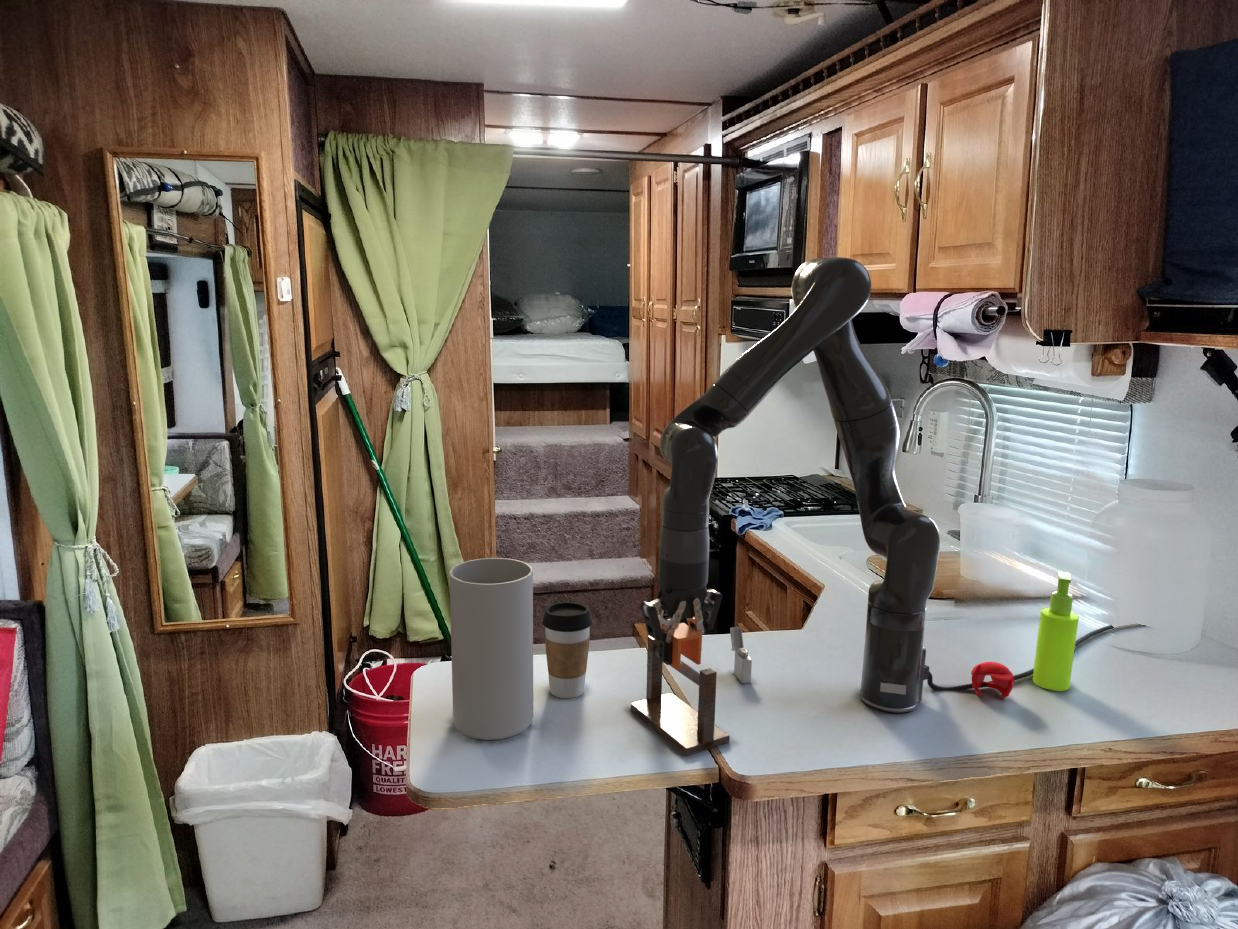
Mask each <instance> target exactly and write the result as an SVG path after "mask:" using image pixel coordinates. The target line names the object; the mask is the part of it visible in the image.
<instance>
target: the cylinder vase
mask: <svg viewBox="0 0 1238 929" xmlns="http://www.w3.org/2000/svg"><path fill="white" fill-rule="evenodd" d="M449 598H450V599H449V605H450V606H449V607H450V608H449V609H450V644H451V646H450V647H451V648H450V650H451V652H450V653H451V688H452V689H451V690H452V692H451V693H452V721H453V725H454V727H455V728H456V730H457V731H458V732H460V733H461V734H463V735H464V736H466V737H469V738H472V739H476V740H486V741H490V740H491V741H493V740H495V741H496V740H503V739H507V738H511V737H514V736H516V735H519V734H520V733H522V732H523V731H525V730H526V729H528V727H529V726H530V725H531V723H532V722H533V720H534V568H533V566H532V565H530V564H529V563H527V562H525V561H522V560H520V559H519V560H518V559H514V558H508V557H507V558H506V557H485V558H484V557H483V558H476V559H470V560H466V561H462V562H460V563H458V564H455V565H453V566H452V568H450V570H449Z"/></svg>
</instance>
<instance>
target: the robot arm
mask: <svg viewBox="0 0 1238 929" xmlns="http://www.w3.org/2000/svg"><path fill="white" fill-rule="evenodd" d="M871 293H872V279H871V275H870V273H869V271H868V269H867V268H866V267H865V265H863V263H861V262H859V261H858V260H856V259H853V258H850V257H840V256H835V257H818V258H812V259H809V260H807V261H805V262H803V263H802V264H801V265H800V266H798V268H797V269H796V271H795V273H794V275H793V278H792V282H791V297H792V301H793V302H792V303H793V305H794V308H795V309H794V310H793V312H792V313H791V314H790V315H789V317H787V318H786V319H785V320H784V321H783V322H782V323H781V324H780V325H778V326H777V327H776V328H775V329H774V330H772V332H770V333H769V334H768V335H766V336H765V337H764V338H761V340H759V341H758V342H757V343H755V344H754V345H753V346H750V348H748V349H747V350H746V351H745V352H744V353H742V354H741V355H739V357H737V358H736V359H735V360H734V361H733V362H732V363H731V364H730V365H729V366H728V367H727V368H726V369H725V370H724V371H723V372H722V373H721V375H720V376H718V378H717V379H716V380H715V381H714V382H713V384H711V386H710V387H709V388H708V389H707V390H706V391H705V393H703V394H702V396H700V397H698V398H697V399H696V400H694V401H693V402H691V403H690V404H689V405H688V406H686V408H684V409H683V410H682V411H681V412H679V413H678V414H677V415H676V416H675V417H674V418H673V419H671V420H670V422H669V423H668V424H667V425H666V426H665V428H664V429H663V431H662V433H661V435H660V438H659V442H658V443H659V446H658V447H659V451H660V454H661V456H662V457H663V459H664V460H665V461H666V462H668V463H669V464H670V466H671V467H670V468H671V470H670V481H669V486H668V487H667V488H665V490H664V492H663V496H662V501H661V502H662V504H661V528H660V534H659V543H658V544H659V545H658V572H657V573H658V577H657V578H658V579H657V581H658V585H659V589H658V593H657V595H656V598H654V599H653V600H651V601H650V602H648V601H646V600H643V601H642V602H641V603H640V609H641V612H642V616H643V621H644V625H645V629H646V633H647V635H648V636H651V637H652V638H654V639H655V640H657V641H659V659H661V661H662V664H664V665H666V666H670V664H672V653H673V642H672V640H673V636H674V633H675V630H676V629H677V628H678V627H679V624H680V623H681V621H682V620H684V619H686V621H687V625H688V626H690V627H691V628H693V629H695V630H696V631H698V632H700V633H701V634H702V636H703V635H705V632H707V631H711V630H713V629H714V627H715V624H716V620H717V617H718V613H719V610H720V606H721V603H722V599H723V594H722V593H721V592H719V591H717V590H715V589H712V588H708V589H707V585H708V583H709V582H708V581H709V564H710V530H709V522H710V521H709V520H710V496H711V493H712V491H713V487H714V482H715V477H716V473H717V468H718V460H719V450H718V444H717V440H716V438H717V437H718V436H720V435H721V434H722V433H723V432H724V431H725V430H727V429H733V428H736V427H738V426H740V425H741V424H742V423H743V422H744V421H745V420H746V419H748V417H749V416H750V415H751V414H752V412H753V411H754V410H755V409H756V408H757V407H758V406H759V405H760V404H761V403H762V402H763V401H764V399H765V398H766V397H767V396H768V395H769V394H770V393H771V392H772V391H773V390H774V388H776V386H778V384H779V383H780V382H781V381H782V380H783V379H784V378H785V377H786V376H787V375H788V374H789V373H791V371H793V369H795V367H796V366H798V365H799V364H800V363H801V362H802V361H803V360H805V359H806V357H807V356H808V355H810V354H811V353H812V352H813V353H814V357H815V360H816V363H817V366H818V370H819V371H818V372H819V375H820V378H821V381H822V385H823V388H824V391H825V394H826V398H827V401H828V404H829V408H830V412H831V417H832V419H833V423H834V426H835V430H836V433H837V436H838V439H839V442H840V445H841V447H842V451H843V454H844V458H845V461H846V464H847V468H848V471H849V475H850V477H851V480H852V484H853V487H854V491H855V496H856V501H857V507H858V512H859V517H860V523H861V530H862V533H863V537H864V541H865V544H866V545H867V546H868V548H869V549H870V551H871V552H872V553H873V554H875V555H876V556H878V557H879V558H881V559H882V560H884V561H886V562H885V571H884V575H883V576H884V577H883V578H882V579H877V580H874V581H873V582H872V583H871V584H870V585H869V587H868V593H867V594H868V595H867V609H866V622H865V635H864V645H863V646H864V647H863V656H862V657H863V658H862V671H861V681H860V682H861V683H860V691H859V697H860V700H861V701H862V702H863V703H864V704H866V705H867V706H869V707H871V708H873V709H876V710H879V711H882V712H886V713H892V714H893V713H895V714H896V713H897V714H899V713H900V714H902V713H903V714H904V713H909V712H913V711H915V710H916V709H917V708H918V706H919V703H920V702H922V700H923V698H922V697H923V688H924V681H926V680H927V685H928V687H929V688H930V689H932V690H934V691H952V692H953V691H955V692H956V691H958V692H959V691H961V692H962V691H965V690H966V691H967V690H972V689H973V690H974V688H973V687H972V683H966V684H961V685H956V686H940V685H937V684H935V683H934V682H933V681H934V680H933V679H934V678H933V674H932V673H931V671H930V665H927V664H926V657H927V656H926V655H927V649H926V648H925V646H924V640H925V639H924V638H925V630H926V619H927V618H926V617H927V607H928V606H927V605H928V600H929V598H930V596H931V595H932V592H933V590H934V587H935V583H936V577H937V571H938V570H937V568H938V562H939V556H940V549H941V548H940V547H941V539H940V536H941V535H940V531H939V528H938V526H937V524H936V523H935V521H934V520H933V519H931V518H930V517H929V516H928V515H925V514H923V513H921V512H918V511H915V510H913V509H911V508H908V507H907V506H906V503H905V501H904V499H903V496H902V493H901V492H900V487H899V484H898V481H897V478H896V471H895V470H896V469H895V465H896V459H897V455H898V449H899V444H900V435H901V434H900V425H899V421H898V417H897V413H896V409H895V405H894V402H893V399H892V396H891V393H890V390H889V388H888V386H887V384H886V383H885V381H884V379H883V377H882V376H881V374H880V373H879V371H878V370H877V368H876V367H875V365H874V363H873V362H872V360H871V359H870V358H869V356H868V355H867V353H866V351H865V350H864V349H863V347H862V345H861V343H860V341H859V339H858V336H857V333H856V330H855V327H854V323H853V319H854V318H855V317H856V316H857V315H858V314H859V313H860V312H862V310H864V308H865V306H866V305H867V303H868V301H869V299H870V296H871ZM660 608H661V609H662V610H661V612H660ZM1111 630H1115V628H1114V627H1113V626H1112V624H1109V625H1106V626H1102V627H1099V628H1096V629H1095V630H1092V631H1090V632H1088V633H1087V634H1084V635H1083V636H1081V637H1080V638H1078V639H1076V642H1075V648H1077V647H1078V646H1080V645H1081V644H1082V643H1084V642H1085V641H1087V640H1089V639H1090V638H1092V637H1094V636H1096V635H1099V634H1101V633H1104V632H1107V631H1111ZM702 645H703V642H702V643H701V650H703V648H702V647H703V646H702ZM1033 672H1034V668H1032V669H1029V670H1026V671H1024V672H1021V673H1019V674H1018V673H1017V674H1015V675H1014V674H1013V676H1014V682H1015V681H1018V680H1022V679H1024V678H1028V677H1030V676H1033ZM988 682H991V683H993V681H992V680H989V681H988ZM981 688H988V687H987V684H986V683H982V684H981V686H980V688H979V689H981Z"/></svg>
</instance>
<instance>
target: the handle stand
mask: <svg viewBox="0 0 1238 929" xmlns="http://www.w3.org/2000/svg"><path fill="white" fill-rule="evenodd" d="M646 649H647V651H646V652H647V654H646V655H647V656H646V657H647V658H646V693H645V695H646V696H645V699H642V700H638V701H634V702H630V711H632V712H633V713H634V714H635V715H636V716H637V717H639V718H640V719H641V720H642V721H643V722H645V724H647V725H649V727H650V728H651V729H653V730H654V731H656V733H658V734H659V735H660V736H661V737H663V738H664V739H665V740H666V741H668V742H669V744H671V745H673V746H674V748H676V749H677V750H678V751H679V752H681V753H682V754H683V755H684V756H686V757H687V756H691V755H693V754H697V753H700V752H703V751H707V750H711V749H713V748H717V747H719V746H722V745H726V744H729V743H730V738H731V736H730V734H728V733H727V732H726V731H724V730H723V729H722V728H721V727H720V726H718V725H717V724H715V723H716V722H715V721H716V697H717V677H718V676H717V674H718V673H717V671H716V670H714V669H712V668H711V667H709V668H705V669H702V670H699V671H697V670H695V669H694V668H693V667H691V666H690V665H688V664H686V663H685V662H683V660H681V661H680V669H679V670H676V669H675V668H674V667H672V666H671V665H669V667H671V668H672V669H674V670H675V671H677V672H678V673H679V674H681V675H683V676H684V677H685V678H687V679H688V680H689V681H691V682H692V683H694V684H696V685H697V686H698V700H697V702H698V703H697V710H696V709H695V708H693V707H692V706H690V705H689V704H688V703H686V702H685V701H684V700H682V699H681V698H680V697H678V696H677V695H676V694H674V693H673V692H668V693H664V694H662V693H663V692H662V691H663V662H662V661H661V659H659V641H657V640H655V639H654V638H652V637H651V636H649V635H648V636H647V648H646Z"/></svg>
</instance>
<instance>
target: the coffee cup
mask: <svg viewBox="0 0 1238 929" xmlns="http://www.w3.org/2000/svg"><path fill="white" fill-rule="evenodd" d="M541 622H542V626H543V627H544V631H545V632H544V635H543V636H544V646H545V655H546V664H547V672H548V688H549V692H550V694H551V695H552V696H554V697H556V698H559V699H573V698H574V699H575V698H578V697H580V696H581V695H583V694H584V692H585V687H586V676H587V675H586V674H587V668H588V659H589V658H588V657H589V649H590V642H591V641H590V640H591V632H590V630H591V629H590V628H591V626H592V625H593V617H592V615H591V609H590V607H589V606H588V605H586V604H583V603H580V602H577V601H560V602H559V601H558V602H554V603H551V604H549V605H547V606H546V607H545V610H544V615H543V617H542V621H541Z"/></svg>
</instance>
